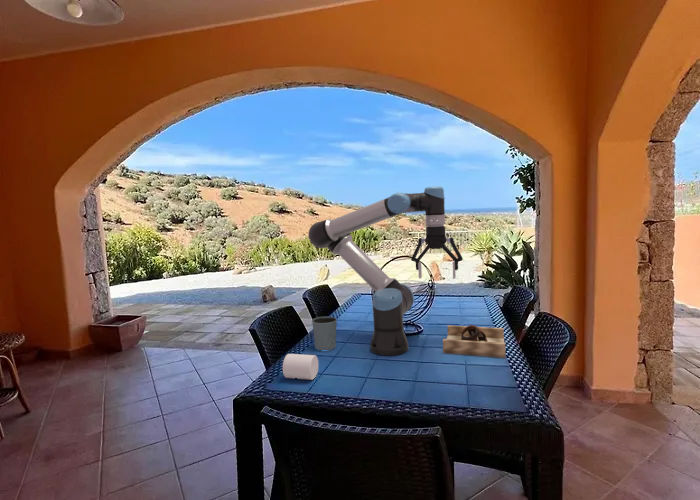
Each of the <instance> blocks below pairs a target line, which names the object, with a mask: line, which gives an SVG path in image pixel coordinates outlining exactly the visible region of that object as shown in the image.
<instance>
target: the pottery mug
mask: <svg viewBox="0 0 700 500" xmlns="http://www.w3.org/2000/svg"><path fill="white" fill-rule="evenodd" d="M467 326H468V327H466V328H464V329H463V330H462V331H461V334H462V335H461V340H467V341H478V340H479V341H485V342H487V338H486V335H485V333H484V332H483V331H482V330H481V329H479V328H478V327H479V326H477V325H473V324H470V325H467ZM466 331H468V333H469V334H470V336H469V337H465V336H463V334H464V333H465V332H466ZM477 337H478V339H477Z"/></svg>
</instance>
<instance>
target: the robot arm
mask: <svg viewBox="0 0 700 500" xmlns="http://www.w3.org/2000/svg"><path fill="white" fill-rule="evenodd" d="M444 192H445V191H444V188H443V187H442V186H428V187H424V192H420V193H419V192H418V193H417V192H413V193H406V192H405V193H403V192H395V193H393V194H392V195H390V196H389V197H385V198H384V199H381V200H379V201H376V202H374V203H371V204H369V205H366V206H364V207H361V208H359V209H356V210H353V211H351V212H349V213H346V214H344V215H341V216H338V217H336V218H334V219H331V218H327V219H324V220H321V221H316V222H315V223H313V224H312V225H311V226H310V228H309V230H308V239H309V242H310V243H311V245H313V246H314V247H316V248H319V249H326V248H327V249H328V250H329V251H330V252H331V253H332V254H333V255H339V256H340V257H341V259H342V260H344V261H345V262H346V263H347V264H348V266H350V268H351V269H352V270H354V272H356V274H357V275H359V276H360V278H361V279H362V280H363V281H364V282H366V284H367V285H368V286H369V287H370V288H371V289H372V290H374V293H373V294H372V299H371V304H372V315H373V333H372V335H371V336H372V338H371V339H370V351H371V352H372V353H374V354H376V355H379V356H387V357H388V356H389V357H390V356H398V355H402V354H405V353H407V352H408V350H409V349H410V348H409V341H408V339H407V338H408V337H407V336H406V333H405V330H404V315H405V313H407V312H409V310H410V309H412V306H413V305H414V303H415V296H414V292H413V291H412V288H410V287H409V286H407V285H406V284H401V283H400V282H399V281H398V279H396V278H390V277H389V276H388V275H387V274H386V273H385V271H383V269H381V268H380V267H379V266H378V265H377V264H376V263H375V262H374V261H373V260H372V259H371V258H370V257H369V256H368V255H367V254H366V253H365V252H364V251H363V250H362V249H361V248H360V247H359V246H358V245H357V244H356V243H354V241H353V236H352V235H351V233H353V232H356V231H358V230H360V229H364V228H367V227H368V226H371V225H374V224H378V223H379V222H383V221H385V220H388V219H390V218H393V217H396V216H399V215H402V214H407V213H417V212H418V213H419V212H425V213H424V214H425V225H426V227H425V238H422V237H420V238H418V241H417V245H416V248H415V249H414V252H413V254H412V256H411V258H410V260H411V261H412V262H414V263H415V270H416V271H418V279H422V277H423V275H422V273H423V272H422V261H421V259H422V258H423V257H424V256H425V254H426V253H427V252H428V251H429V250H430V249H431V250H441V249H442V250H443V251H444V252H445V253H446V254H447V255H448V256H449V258H451V259H452V261H453V262H452V279H456V278H457V277H456V275H457V274H456V271H458V270H459V262H460V261H463V260H464V259H463V255H461V252H460V250H459V248H458V246H456V243H455V239H454V237H453V236H452V237H446V226H445V225H446V215H445V208H446V207H445V199H446V197H445V193H444ZM447 242H448V243H449V244H450V246H451V247H452V249H453V252H455V254H454V253H453V252H452V251H451V250H450V249H449V248H448V246H446V243H447ZM424 243H425V244H427V245H426V247H425V248H424V249H423V250H422V252H421V253H420V254H419V255H418V253H419V251H420V250H421V249H420V248H421V247H422V245H423V244H424ZM417 255H418V257H417ZM455 255H456V256H455Z"/></svg>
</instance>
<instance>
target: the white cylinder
mask: <svg viewBox="0 0 700 500" xmlns="http://www.w3.org/2000/svg"><path fill="white" fill-rule="evenodd" d="M282 373H283V374H282V375H283V377H284V378H285V379H295V378H297V380H310V381H313V379H314V378H315V377H317V376H318V373H319V358H318V357H317V355H316V354H302V353H301V354H299V353H287V354H286V355H285V356H284V359H283V361H282ZM316 375H317V376H316ZM315 379H316V378H315ZM315 379H314V380H315Z"/></svg>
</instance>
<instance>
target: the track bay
mask: <svg viewBox="0 0 700 500" xmlns="http://www.w3.org/2000/svg"><path fill="white" fill-rule="evenodd" d="M468 326H469V325H450V324H447V337H446V338H443V339H442V353H443V354H449V355H450V354H451V355H452V354H453V355H463V356H477V357H486V358H487V357H489V358H501V359H502V358H503V359H504V358H505V359H506V342H505V336H504V335H505V333H504V332H505V331H504V330H505V328H504V327H488V326H487V327H486V326H477V327H478V328H479V329H481V330H482V331H483V332H484V333H485V335H486V338H487V342H485V341H479V340H478V341H467V340H461V335H462V334H461V331H462V330H463V329H464V328H466V327H468ZM463 336H465V337H469V336H470V334H469V333H468V331H466V332H465V333H464V334H463ZM477 339H478V337H477Z"/></svg>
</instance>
